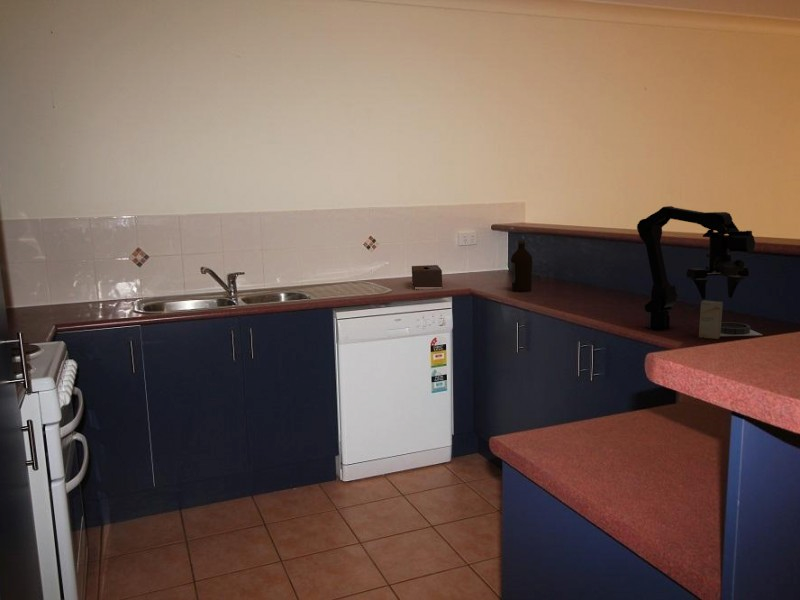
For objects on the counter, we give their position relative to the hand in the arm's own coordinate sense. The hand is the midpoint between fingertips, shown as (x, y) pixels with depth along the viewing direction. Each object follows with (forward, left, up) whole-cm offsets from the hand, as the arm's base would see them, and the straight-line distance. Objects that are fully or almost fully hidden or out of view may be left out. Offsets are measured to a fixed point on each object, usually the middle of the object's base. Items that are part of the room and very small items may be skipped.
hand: (716, 298), depth 218 cm
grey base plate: (+8, +6, -13) cm, 17 cm away
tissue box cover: (-93, +139, -14) cm, 168 cm away
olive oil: (-46, +112, -13) cm, 122 cm away
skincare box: (-2, -1, -13) cm, 13 cm away
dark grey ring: (+8, +6, -13) cm, 17 cm away
